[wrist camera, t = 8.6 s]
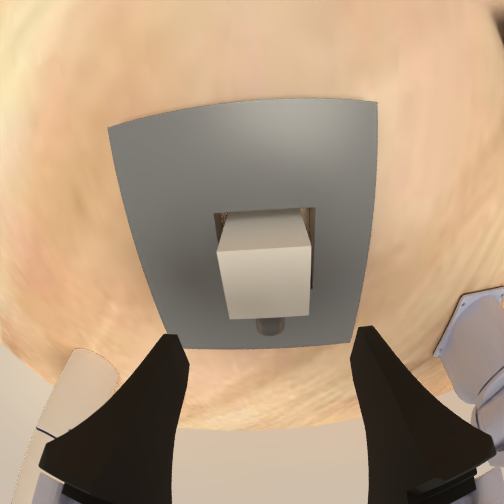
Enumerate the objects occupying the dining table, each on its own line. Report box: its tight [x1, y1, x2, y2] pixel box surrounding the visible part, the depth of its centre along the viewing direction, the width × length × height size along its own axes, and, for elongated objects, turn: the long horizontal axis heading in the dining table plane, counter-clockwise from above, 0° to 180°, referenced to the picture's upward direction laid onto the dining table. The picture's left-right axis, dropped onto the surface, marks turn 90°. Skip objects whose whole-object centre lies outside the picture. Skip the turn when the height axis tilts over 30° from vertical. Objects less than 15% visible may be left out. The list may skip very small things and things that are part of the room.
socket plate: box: [108, 98, 378, 349], centre depth 18 cm, size 18×15×2 cm
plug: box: [217, 208, 311, 336], centre depth 17 cm, size 6×4×6 cm
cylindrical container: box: [11, 348, 119, 504], centre depth 18 cm, size 7×7×25 cm
